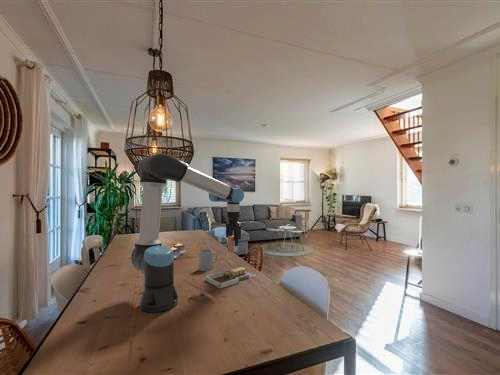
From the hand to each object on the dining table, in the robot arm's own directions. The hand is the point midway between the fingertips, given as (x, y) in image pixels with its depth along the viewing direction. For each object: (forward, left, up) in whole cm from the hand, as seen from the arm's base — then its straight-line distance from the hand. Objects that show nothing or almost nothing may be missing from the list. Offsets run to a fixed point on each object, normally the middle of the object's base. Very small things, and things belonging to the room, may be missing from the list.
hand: (233, 250), depth 149 cm
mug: (-9, +13, -12) cm, 20 cm away
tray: (-17, -13, -12) cm, 24 cm away
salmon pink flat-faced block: (0, 0, 0) cm, 0 cm away
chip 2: (-4, -13, -11) cm, 17 cm away
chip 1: (-9, -13, -11) cm, 19 cm away
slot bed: (-4, -13, -12) cm, 18 cm away
